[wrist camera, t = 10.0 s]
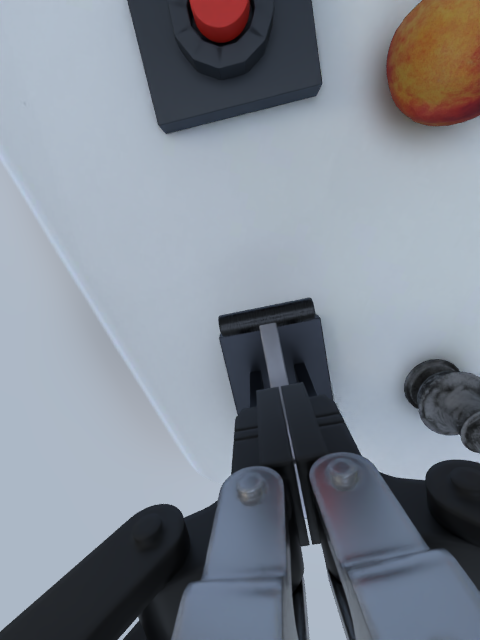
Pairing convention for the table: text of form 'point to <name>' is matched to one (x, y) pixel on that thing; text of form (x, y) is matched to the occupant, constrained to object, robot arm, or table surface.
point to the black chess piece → (446, 400)
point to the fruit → (437, 62)
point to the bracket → (299, 357)
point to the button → (220, 18)
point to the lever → (271, 341)
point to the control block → (225, 61)
